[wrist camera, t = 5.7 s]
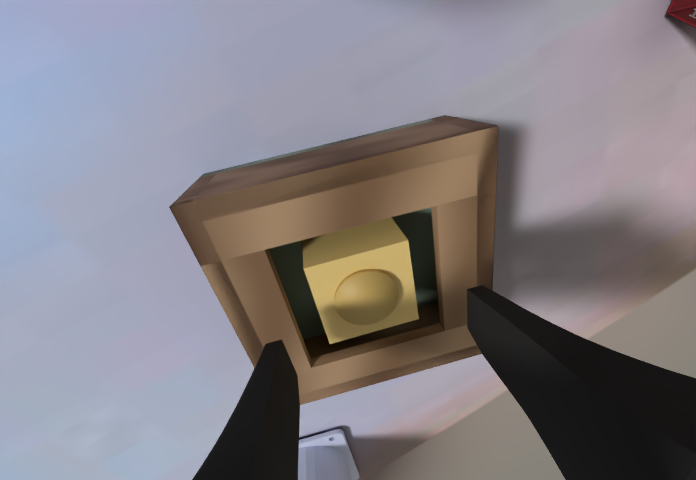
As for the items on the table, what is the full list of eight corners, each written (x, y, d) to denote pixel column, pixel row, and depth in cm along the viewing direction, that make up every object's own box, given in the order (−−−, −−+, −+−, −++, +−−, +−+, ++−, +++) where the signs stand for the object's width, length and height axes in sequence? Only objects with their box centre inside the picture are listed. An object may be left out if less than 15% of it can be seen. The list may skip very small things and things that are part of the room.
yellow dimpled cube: (322, 292, 18) (330, 349, 14) (301, 227, 16) (303, 272, 12) (394, 273, 18) (421, 323, 14) (382, 205, 16) (410, 243, 12)
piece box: (280, 348, 20) (277, 411, 16) (203, 174, 14) (169, 207, 10) (453, 301, 20) (490, 351, 17) (444, 115, 15) (498, 125, 11)
